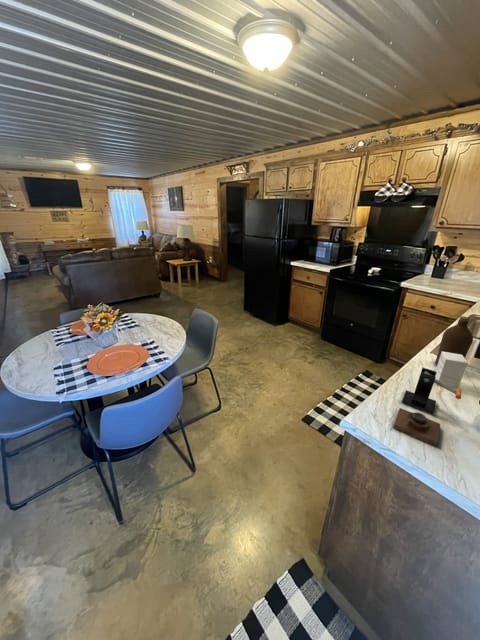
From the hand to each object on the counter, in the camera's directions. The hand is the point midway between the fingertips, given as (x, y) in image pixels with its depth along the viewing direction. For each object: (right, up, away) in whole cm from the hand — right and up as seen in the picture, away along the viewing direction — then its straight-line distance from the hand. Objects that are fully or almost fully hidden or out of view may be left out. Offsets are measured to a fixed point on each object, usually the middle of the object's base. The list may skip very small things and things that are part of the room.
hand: (479, 358), depth 83 cm
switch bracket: (-8, -20, +16) cm, 27 cm away
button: (-17, -21, +4) cm, 27 cm away
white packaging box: (+12, -15, +29) cm, 35 cm away
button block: (-17, -24, +5) cm, 30 cm away
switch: (-5, -12, +10) cm, 16 cm away
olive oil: (+22, -10, +40) cm, 47 cm away
